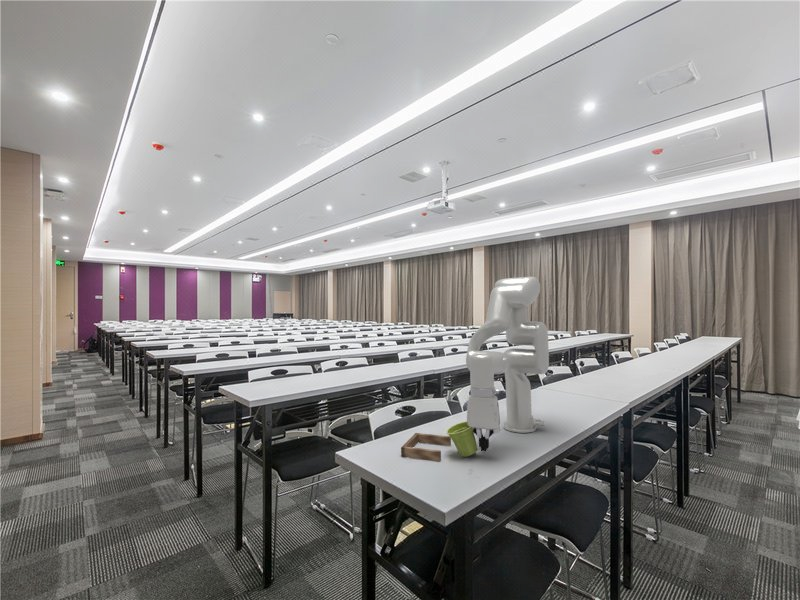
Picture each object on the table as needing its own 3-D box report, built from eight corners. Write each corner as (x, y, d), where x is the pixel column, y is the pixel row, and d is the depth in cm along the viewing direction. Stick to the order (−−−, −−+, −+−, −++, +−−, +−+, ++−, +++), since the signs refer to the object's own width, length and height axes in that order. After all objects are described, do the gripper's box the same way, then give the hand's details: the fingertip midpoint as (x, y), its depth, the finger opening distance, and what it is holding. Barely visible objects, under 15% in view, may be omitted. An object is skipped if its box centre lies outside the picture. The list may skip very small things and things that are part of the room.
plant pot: (451, 461, 117) (442, 435, 117) (460, 448, 125) (451, 424, 126) (478, 457, 112) (468, 430, 113) (485, 444, 121) (476, 419, 122)
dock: (451, 444, 129) (450, 436, 129) (440, 461, 115) (439, 452, 115) (415, 441, 133) (415, 432, 133) (401, 456, 119) (401, 447, 119)
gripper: (507, 391, 118) (509, 448, 117) (461, 388, 123) (463, 443, 123) (505, 396, 111) (507, 457, 110) (457, 393, 116) (458, 451, 115)
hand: (484, 449), depth 116 cm, fingers closed
